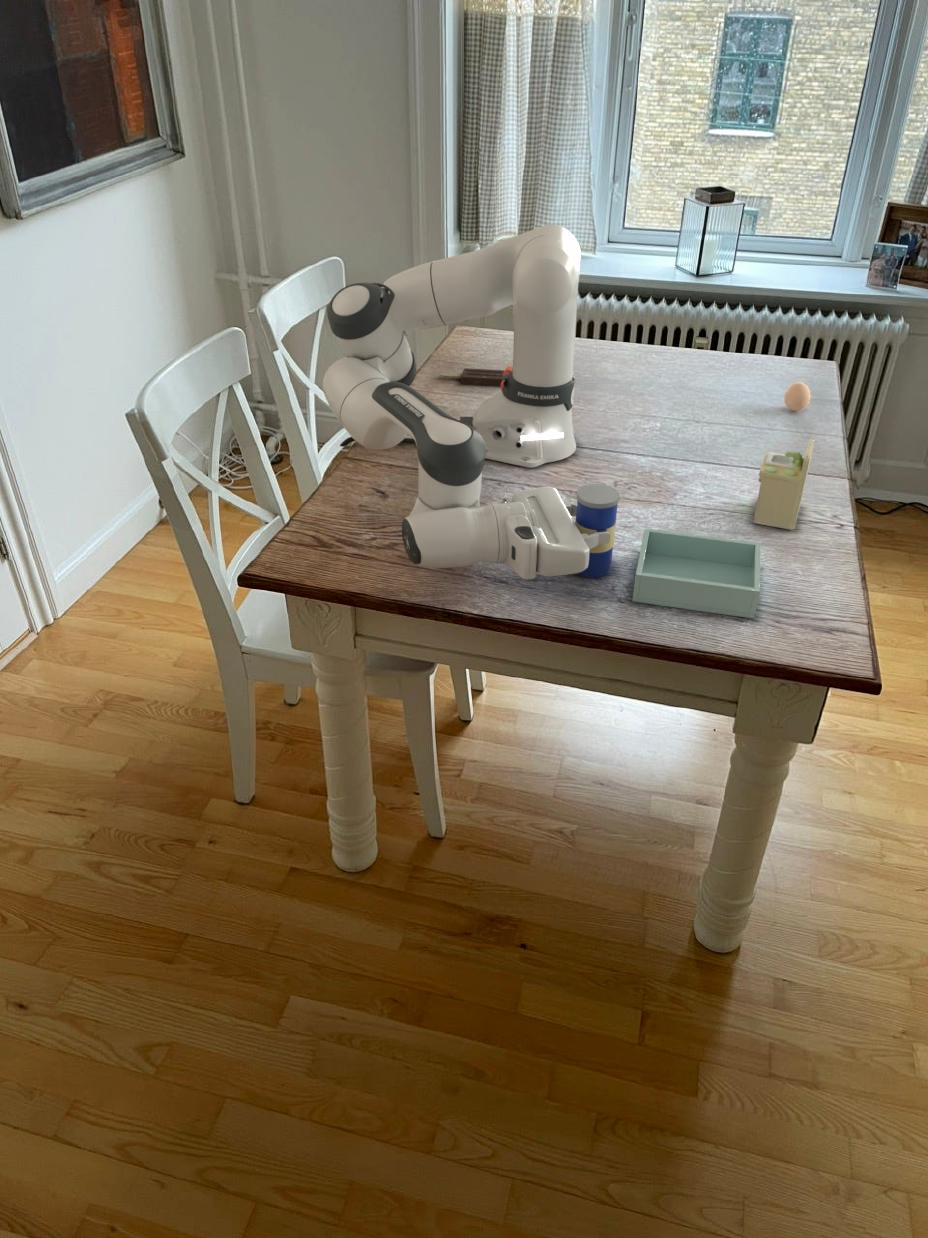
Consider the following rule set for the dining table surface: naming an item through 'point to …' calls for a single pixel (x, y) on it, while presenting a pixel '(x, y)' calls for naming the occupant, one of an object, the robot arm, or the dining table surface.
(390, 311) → the robot arm
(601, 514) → the snack tube
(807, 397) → the egg
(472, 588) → the dining table surface
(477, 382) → the ice cream bar
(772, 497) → the toy sink
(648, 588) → the green tray
